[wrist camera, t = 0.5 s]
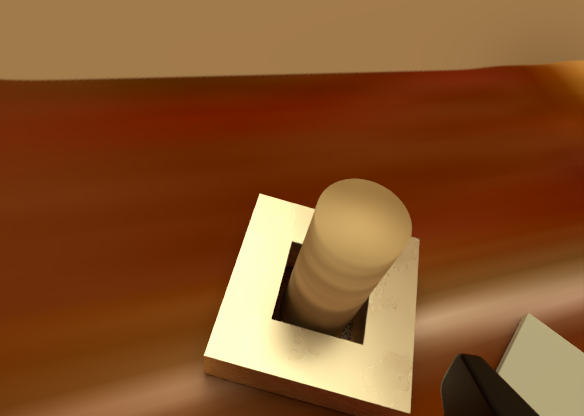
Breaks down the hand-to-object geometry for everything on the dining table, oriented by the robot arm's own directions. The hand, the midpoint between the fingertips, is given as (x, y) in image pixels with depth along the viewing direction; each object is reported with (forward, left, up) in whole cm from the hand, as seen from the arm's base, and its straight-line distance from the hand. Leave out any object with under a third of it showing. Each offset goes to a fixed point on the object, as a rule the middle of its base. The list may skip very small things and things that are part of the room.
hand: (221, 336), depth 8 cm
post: (+7, -6, -16) cm, 18 cm away
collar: (+7, -6, -16) cm, 18 cm away
